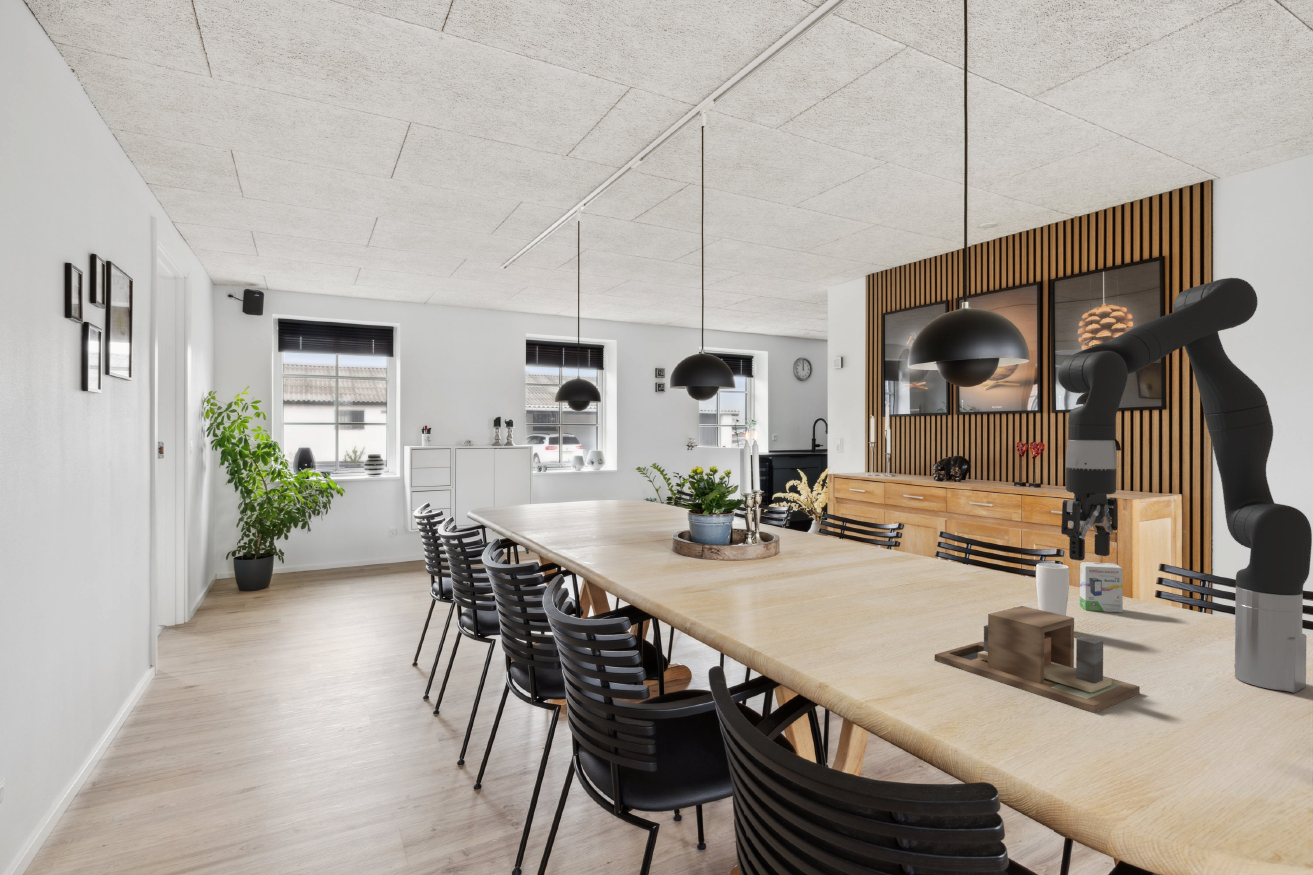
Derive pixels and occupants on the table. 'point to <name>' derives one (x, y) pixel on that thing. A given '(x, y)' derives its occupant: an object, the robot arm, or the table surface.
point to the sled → (1082, 677)
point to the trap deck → (1033, 657)
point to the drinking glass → (1052, 587)
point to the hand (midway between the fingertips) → (1089, 557)
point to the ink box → (1101, 587)
